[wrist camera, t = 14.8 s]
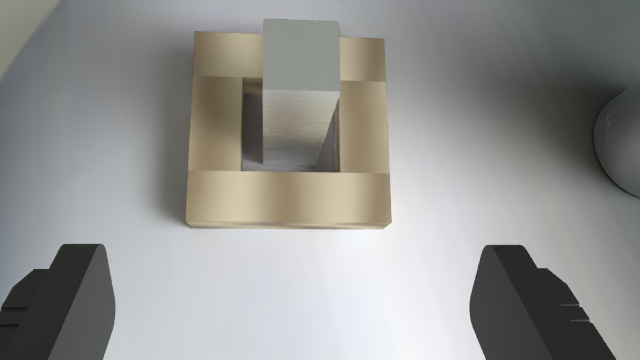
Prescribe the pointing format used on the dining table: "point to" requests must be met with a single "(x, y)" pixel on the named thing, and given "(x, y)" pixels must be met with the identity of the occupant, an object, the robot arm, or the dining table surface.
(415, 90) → the dining table surface
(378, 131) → the well block
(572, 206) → the dining table surface
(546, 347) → the robot arm
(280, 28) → the plain gray rectangular block
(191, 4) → the dining table surface
